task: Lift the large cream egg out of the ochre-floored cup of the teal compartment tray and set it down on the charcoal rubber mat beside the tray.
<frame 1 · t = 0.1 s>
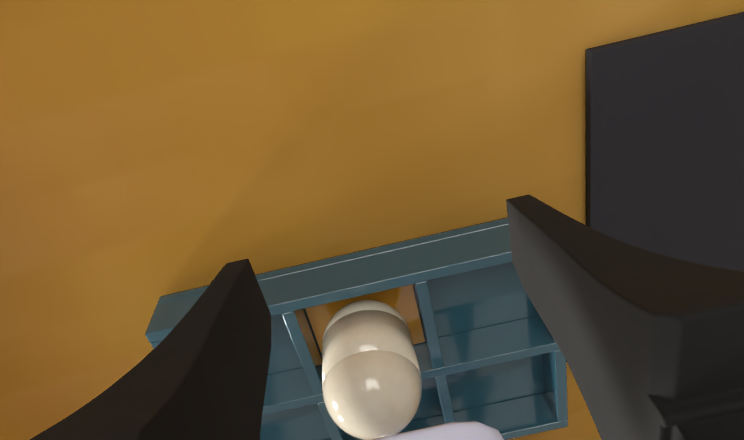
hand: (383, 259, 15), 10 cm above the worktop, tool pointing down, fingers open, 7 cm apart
egg: (364, 315, 28), point 1 cm above the worktop, touching teal compartment tray
teal compartment tray: (375, 347, 30), on the worktop
mat: (720, 211, 27), on the worktop
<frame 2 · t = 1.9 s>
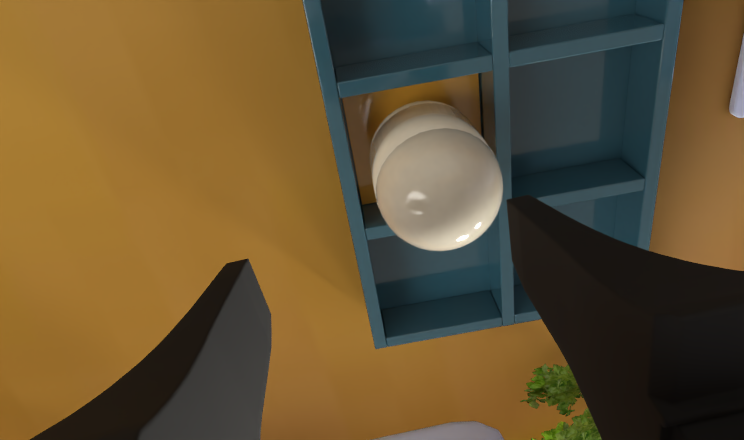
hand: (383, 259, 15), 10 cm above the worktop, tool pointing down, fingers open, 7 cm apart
egg: (416, 136, 23), point 1 cm above the worktop, touching teal compartment tray
teal compartment tray: (484, 117, 23), on the worktop
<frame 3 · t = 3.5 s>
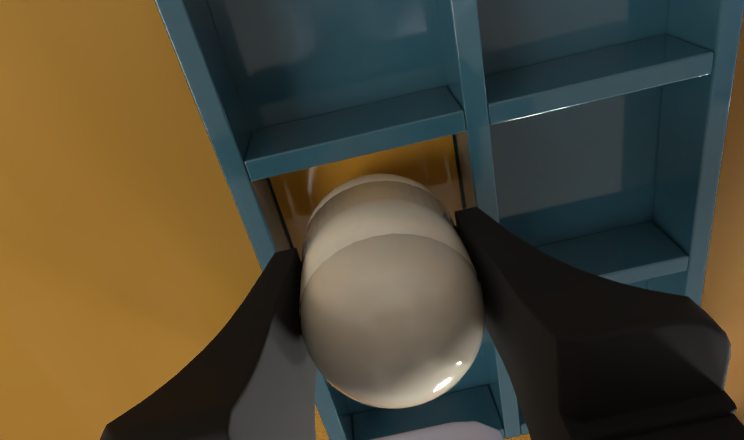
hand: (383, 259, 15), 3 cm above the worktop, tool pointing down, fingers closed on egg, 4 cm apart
egg: (373, 212, 17), point 1 cm above the worktop, touching teal compartment tray, gripper
teal compartment tray: (465, 178, 17), on the worktop
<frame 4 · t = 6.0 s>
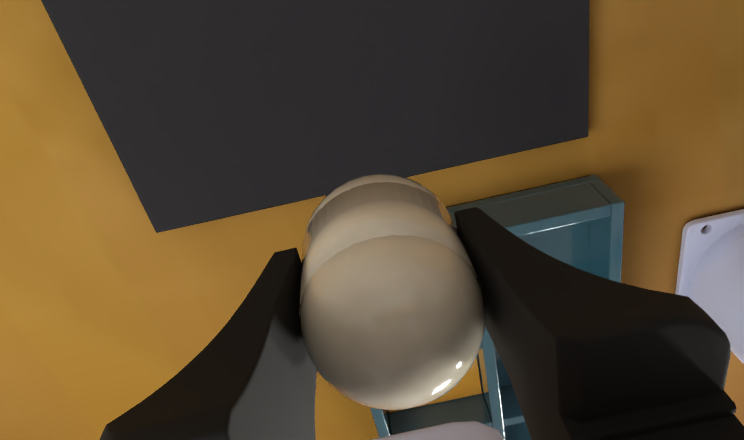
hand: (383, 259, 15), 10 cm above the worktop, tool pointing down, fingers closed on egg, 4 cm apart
egg: (373, 213, 17), point 7 cm above the worktop, touching gripper
teal compartment tray: (479, 348, 31), on the worktop
mat: (332, 25, 21), on the worktop
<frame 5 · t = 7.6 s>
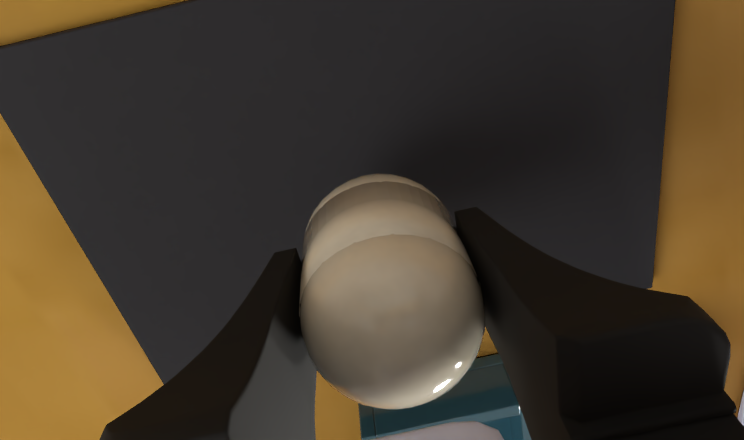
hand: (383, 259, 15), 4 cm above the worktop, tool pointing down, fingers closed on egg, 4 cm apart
egg: (373, 212, 17), point 2 cm above the worktop, touching gripper
mat: (370, 186, 18), on the worktop
when the fingers open (3 cm above the worktop, at t = 8.5 s): egg stays where it is, resting on mat.
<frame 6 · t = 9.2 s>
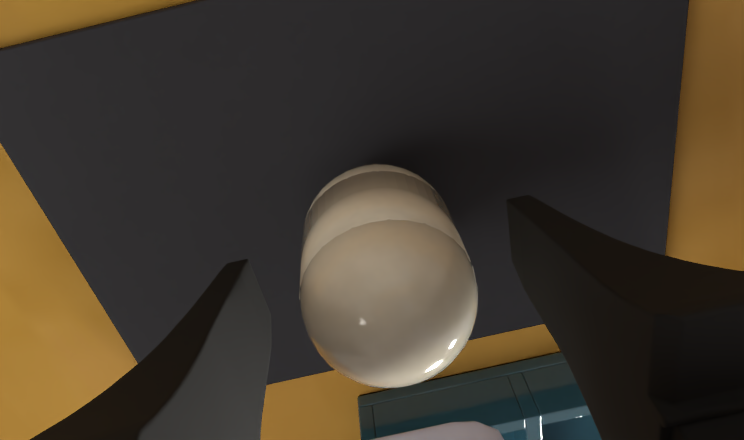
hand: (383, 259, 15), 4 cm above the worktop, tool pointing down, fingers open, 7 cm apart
egg: (371, 203, 17), resting on mat
mat: (371, 195, 18), on the worktop
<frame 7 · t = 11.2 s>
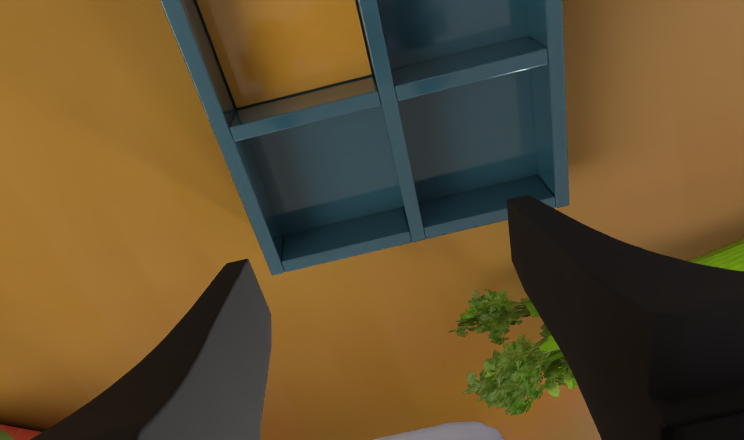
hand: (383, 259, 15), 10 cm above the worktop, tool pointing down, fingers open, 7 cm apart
celery: (706, 226, 28), on the worktop
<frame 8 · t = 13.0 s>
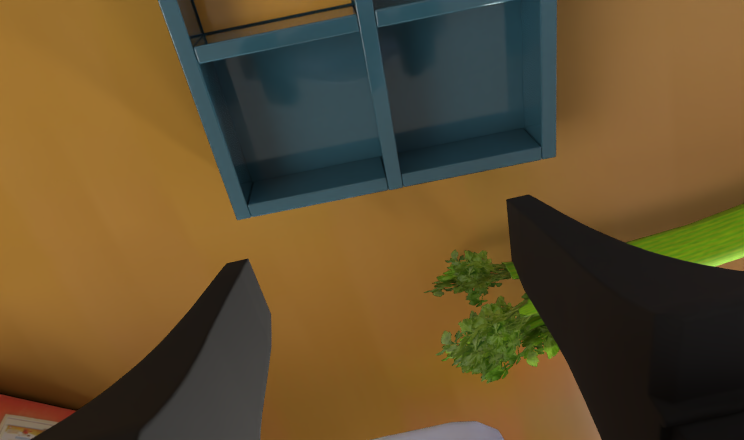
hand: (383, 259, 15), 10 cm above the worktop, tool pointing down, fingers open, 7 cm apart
cracker box: (30, 427, 31), on the worktop
celery: (696, 196, 27), on the worktop
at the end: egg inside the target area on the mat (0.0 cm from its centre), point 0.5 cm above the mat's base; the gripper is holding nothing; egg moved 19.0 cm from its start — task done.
